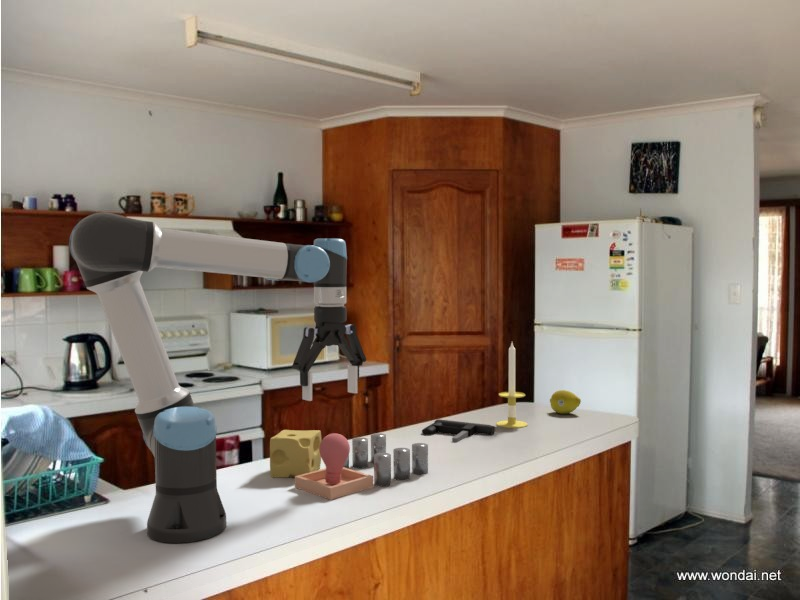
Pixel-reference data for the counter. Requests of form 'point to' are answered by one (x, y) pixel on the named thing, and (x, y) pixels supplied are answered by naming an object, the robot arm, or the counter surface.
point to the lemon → (564, 402)
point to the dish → (349, 484)
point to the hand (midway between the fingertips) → (330, 396)
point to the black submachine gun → (458, 429)
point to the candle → (511, 396)
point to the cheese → (295, 453)
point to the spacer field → (388, 459)
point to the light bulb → (334, 456)
